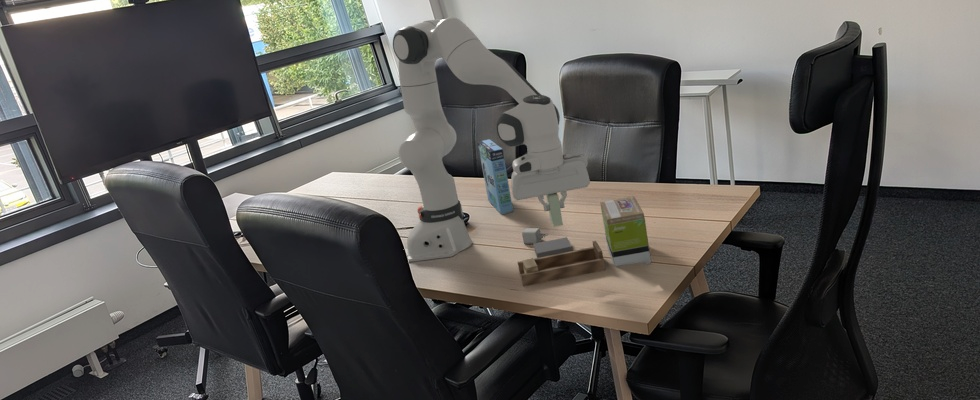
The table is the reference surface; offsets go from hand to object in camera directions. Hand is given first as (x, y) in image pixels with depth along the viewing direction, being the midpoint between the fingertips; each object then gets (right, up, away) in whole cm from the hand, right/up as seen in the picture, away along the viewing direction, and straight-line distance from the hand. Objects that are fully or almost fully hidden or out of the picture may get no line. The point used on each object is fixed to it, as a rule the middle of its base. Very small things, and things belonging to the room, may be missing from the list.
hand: (554, 209), depth 195 cm
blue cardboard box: (-13, 0, +73) cm, 74 cm away
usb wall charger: (-2, -11, +32) cm, 34 cm away
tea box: (+21, -13, +8) cm, 26 cm away
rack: (+3, -18, +5) cm, 19 cm away
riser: (+2, -13, +20) cm, 24 cm away
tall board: (+1, -3, +1) cm, 4 cm away
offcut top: (-6, -16, +4) cm, 18 cm away
